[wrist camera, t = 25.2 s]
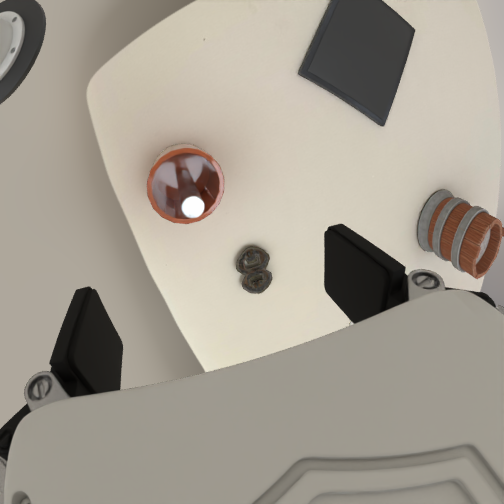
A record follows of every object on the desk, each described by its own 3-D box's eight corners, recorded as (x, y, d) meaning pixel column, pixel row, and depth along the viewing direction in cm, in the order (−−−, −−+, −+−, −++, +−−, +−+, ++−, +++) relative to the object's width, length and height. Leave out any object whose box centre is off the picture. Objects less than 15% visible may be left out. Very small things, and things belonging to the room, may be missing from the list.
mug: (418, 194, 46) (480, 223, 33) (467, 182, 49) (518, 204, 36) (412, 258, 52) (463, 294, 39) (460, 236, 56) (505, 263, 43)
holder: (144, 194, 33) (138, 213, 26) (163, 135, 31) (161, 137, 24) (200, 210, 36) (209, 232, 29) (221, 154, 34) (235, 161, 27)
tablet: (297, 73, 31) (300, 73, 31) (342, -25, 25) (345, -27, 24) (380, 126, 38) (384, 126, 37) (412, 30, 31) (415, 29, 30)
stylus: (174, 180, 33) (178, 215, 21) (178, 166, 32) (185, 193, 20) (187, 184, 34) (200, 221, 22) (192, 171, 33) (208, 199, 21)
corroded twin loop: (243, 295, 43) (244, 298, 43) (230, 250, 40) (232, 253, 39) (273, 284, 44) (275, 287, 43) (264, 239, 40) (266, 242, 39)
